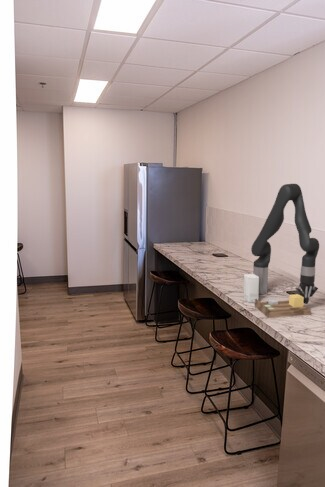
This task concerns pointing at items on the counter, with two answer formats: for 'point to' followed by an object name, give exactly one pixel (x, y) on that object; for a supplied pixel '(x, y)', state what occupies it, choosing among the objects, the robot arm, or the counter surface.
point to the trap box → (281, 309)
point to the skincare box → (251, 287)
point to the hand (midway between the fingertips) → (305, 303)
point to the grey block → (272, 302)
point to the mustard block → (296, 300)
